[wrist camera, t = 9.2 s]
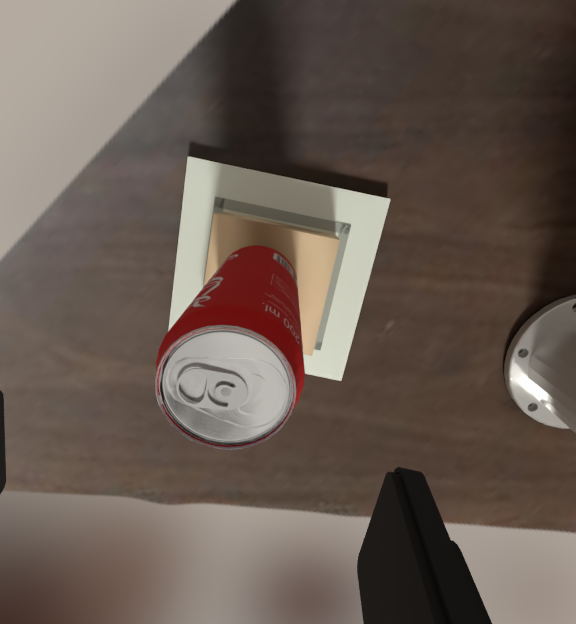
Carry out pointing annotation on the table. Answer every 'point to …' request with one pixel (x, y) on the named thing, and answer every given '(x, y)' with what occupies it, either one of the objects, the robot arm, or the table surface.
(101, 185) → the table surface
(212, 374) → the beverage can
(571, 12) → the table surface
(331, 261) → the oak block
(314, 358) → the board
